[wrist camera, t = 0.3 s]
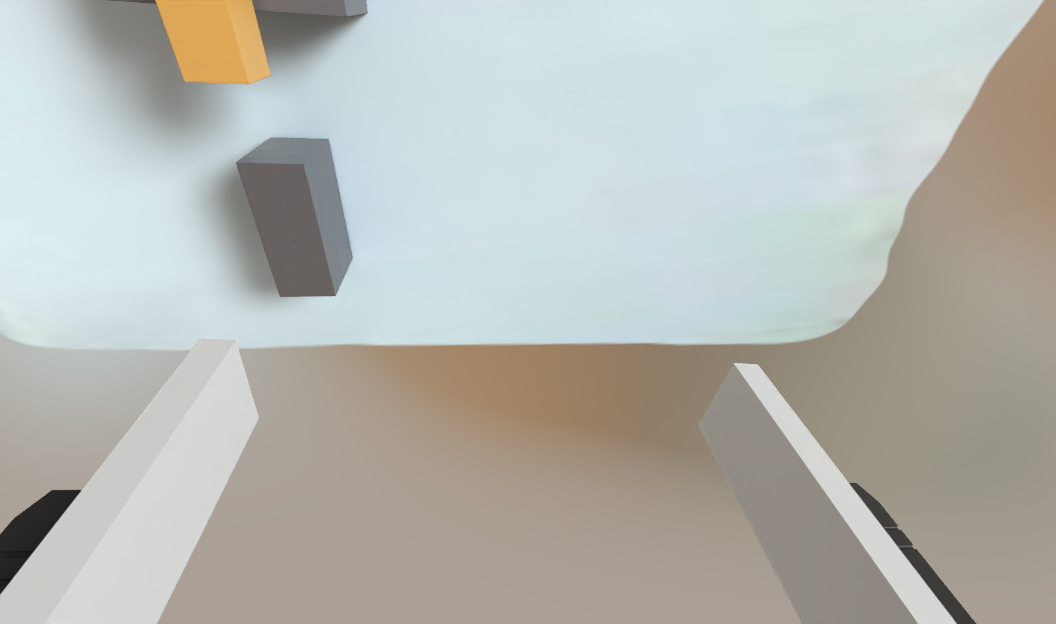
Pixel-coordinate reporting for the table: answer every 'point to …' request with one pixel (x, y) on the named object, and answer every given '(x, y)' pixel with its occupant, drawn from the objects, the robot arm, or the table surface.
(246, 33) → the orange rectangular beam
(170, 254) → the table surface
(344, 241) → the gray rectangular box
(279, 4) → the tall gray pillar
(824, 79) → the table surface
